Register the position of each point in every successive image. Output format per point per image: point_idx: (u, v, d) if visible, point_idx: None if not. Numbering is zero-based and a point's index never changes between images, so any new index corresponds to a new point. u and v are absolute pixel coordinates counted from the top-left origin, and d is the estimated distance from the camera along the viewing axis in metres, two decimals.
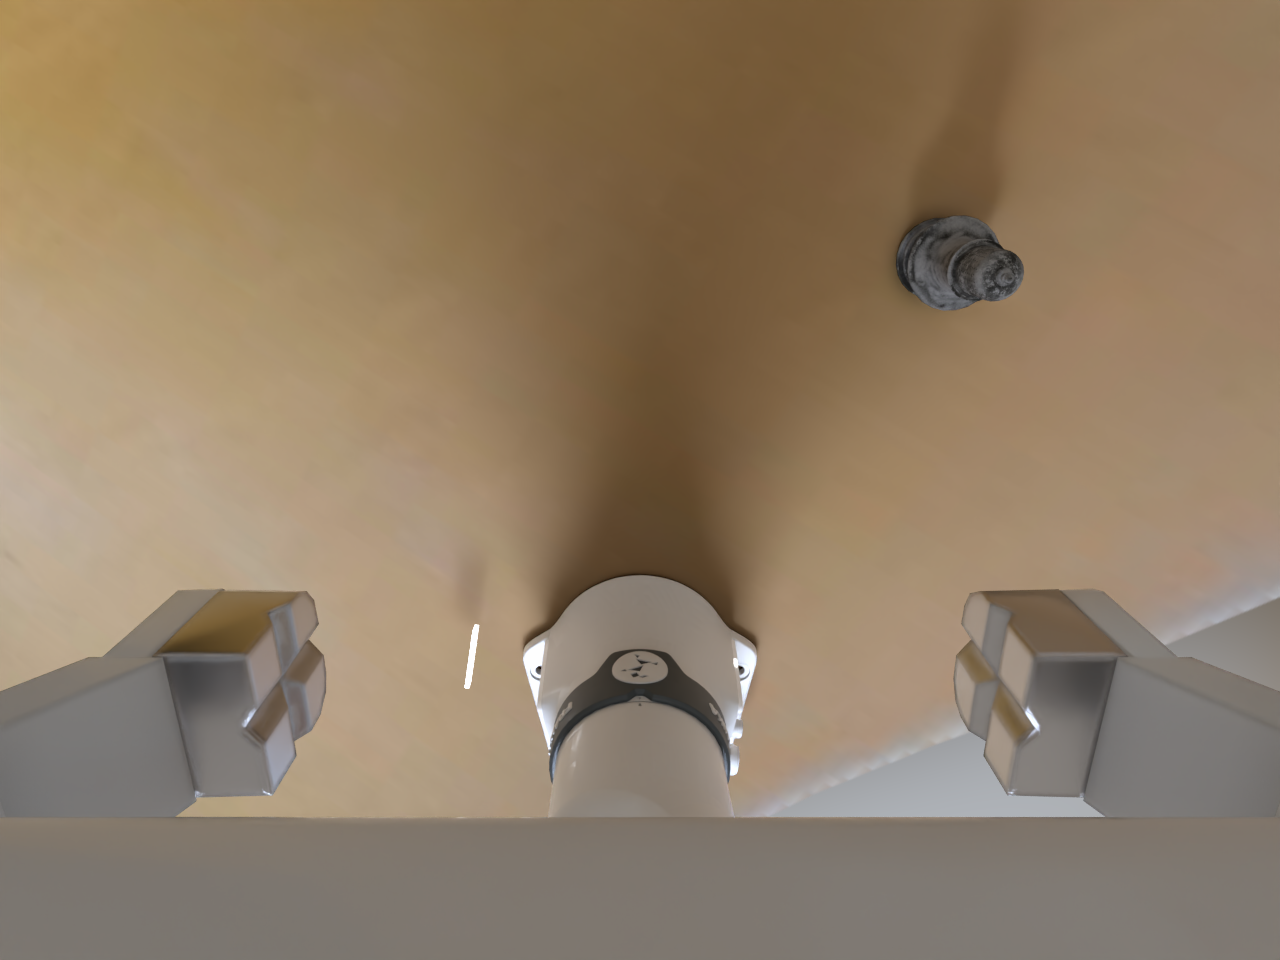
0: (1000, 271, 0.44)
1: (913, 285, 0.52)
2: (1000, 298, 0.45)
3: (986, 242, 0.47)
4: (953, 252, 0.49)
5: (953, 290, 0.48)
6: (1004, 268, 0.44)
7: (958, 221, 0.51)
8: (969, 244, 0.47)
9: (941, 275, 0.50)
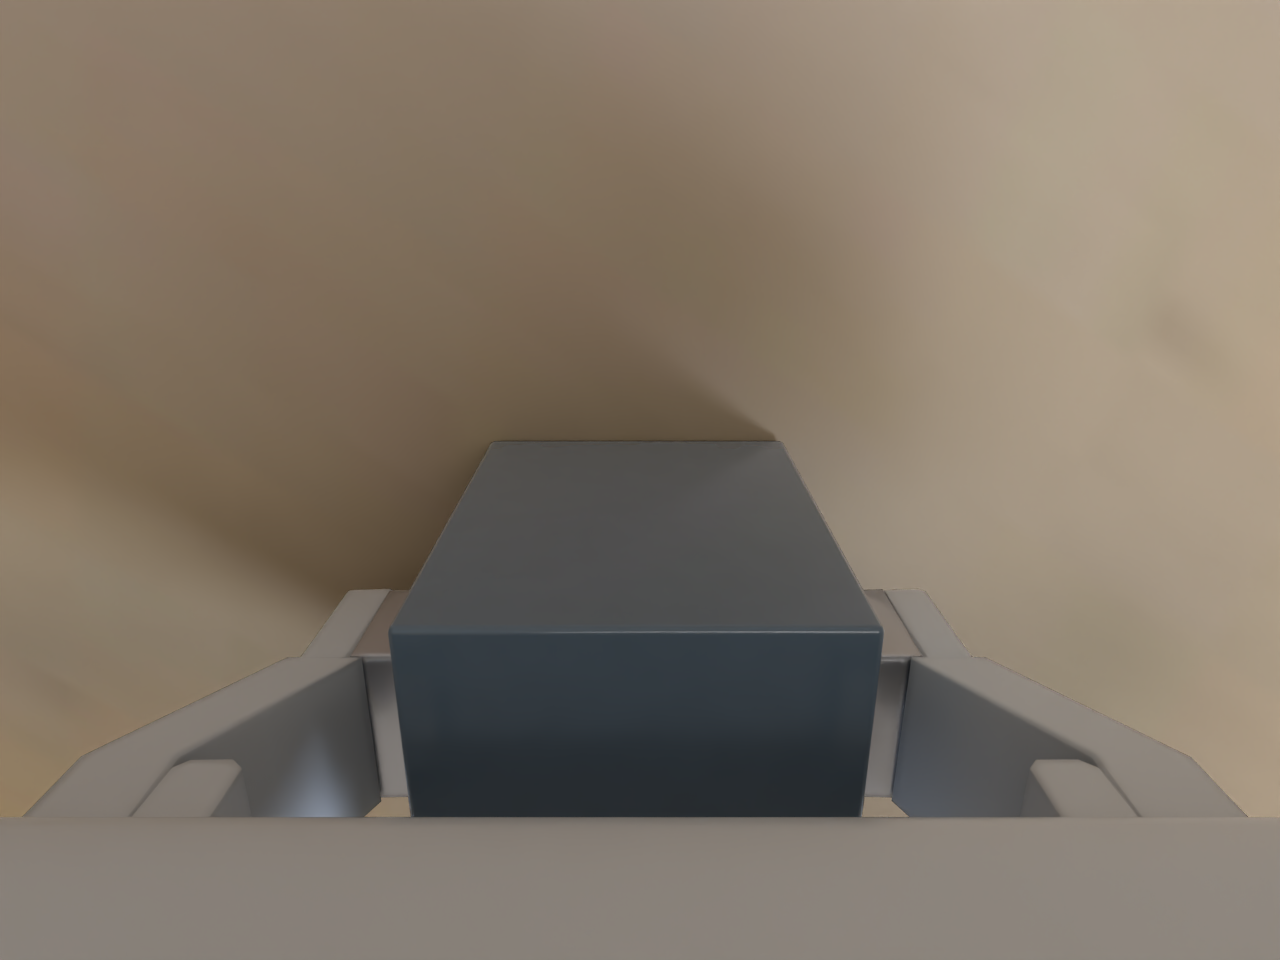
0: None
1: None
2: None
3: None
4: None
5: None
6: None
7: None
8: None
9: None
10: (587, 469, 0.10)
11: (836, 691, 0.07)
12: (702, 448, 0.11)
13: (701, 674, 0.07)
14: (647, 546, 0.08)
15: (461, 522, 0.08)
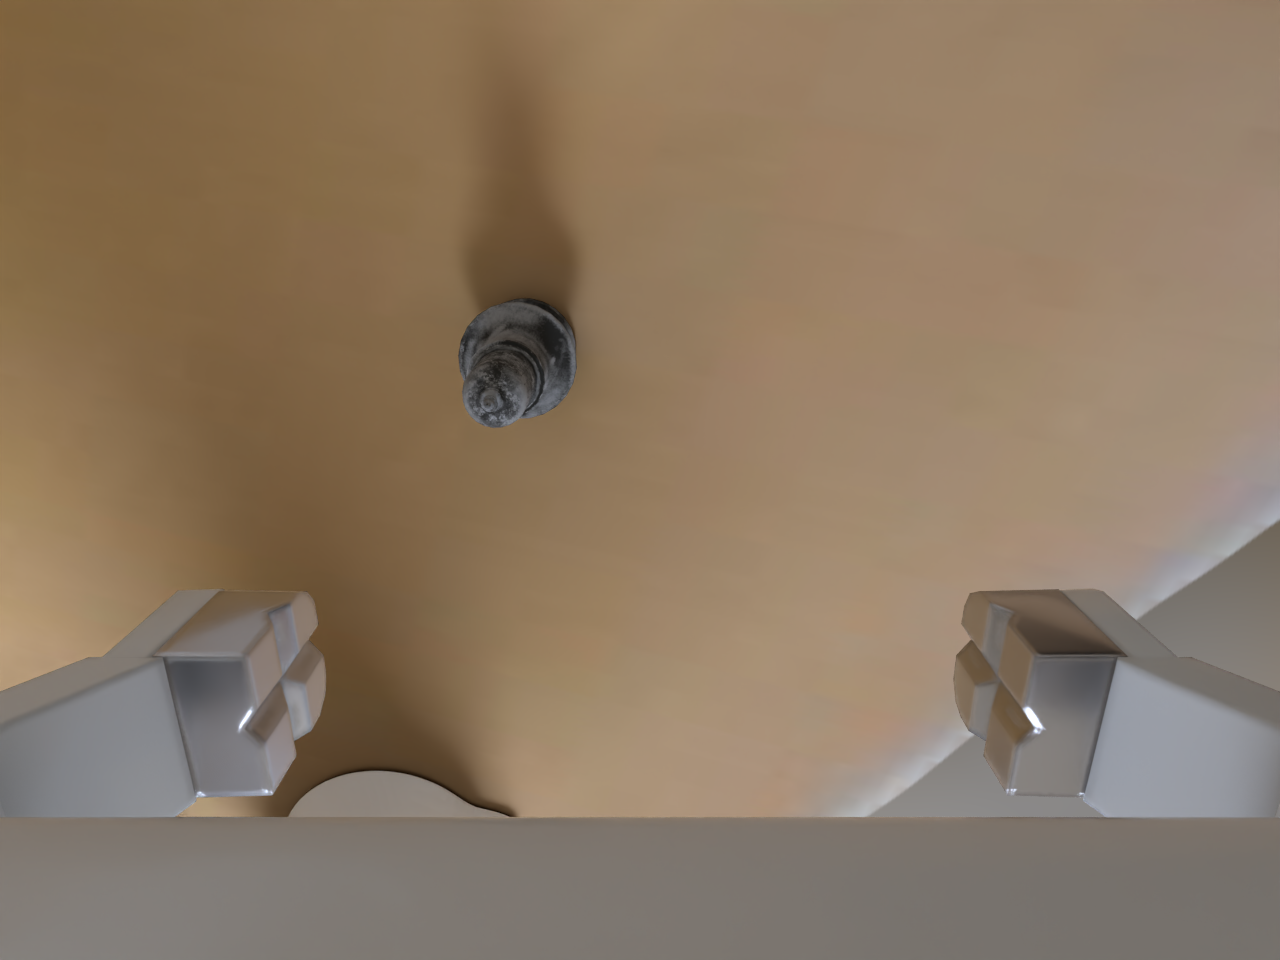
0: (482, 395, 0.33)
1: None
2: (507, 423, 0.34)
3: (497, 345, 0.36)
4: None
5: None
6: (486, 390, 0.33)
7: (498, 312, 0.39)
8: (479, 352, 0.36)
9: None
10: None
11: None
12: None
13: None
14: None
15: None
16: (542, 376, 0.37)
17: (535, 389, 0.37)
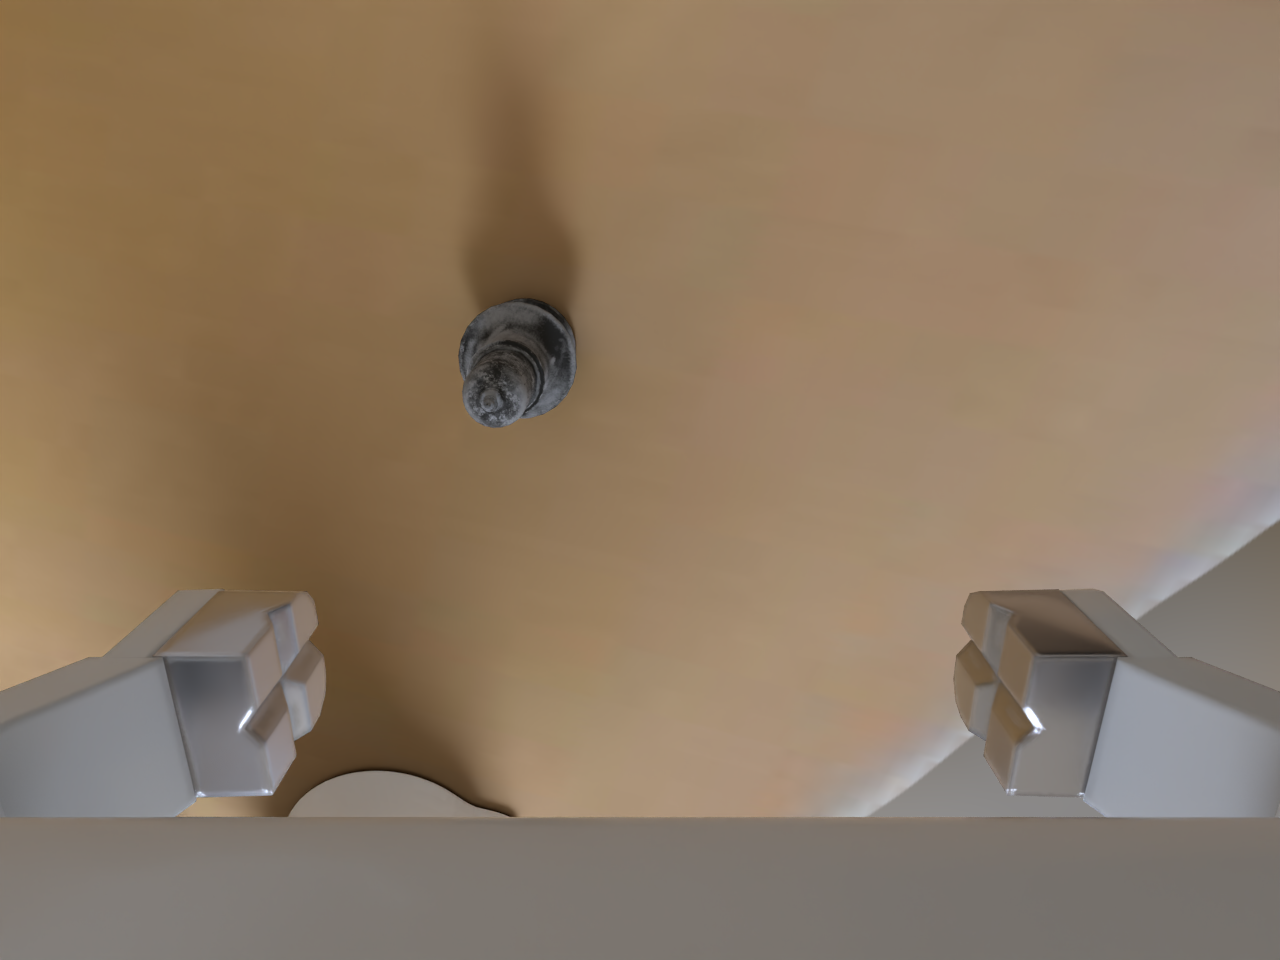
0: (482, 395, 0.33)
1: None
2: (507, 423, 0.34)
3: (497, 345, 0.36)
4: None
5: None
6: (486, 390, 0.33)
7: (497, 312, 0.39)
8: (479, 352, 0.36)
9: None
10: None
11: None
12: None
13: None
14: None
15: None
16: (542, 376, 0.37)
17: (535, 389, 0.37)
